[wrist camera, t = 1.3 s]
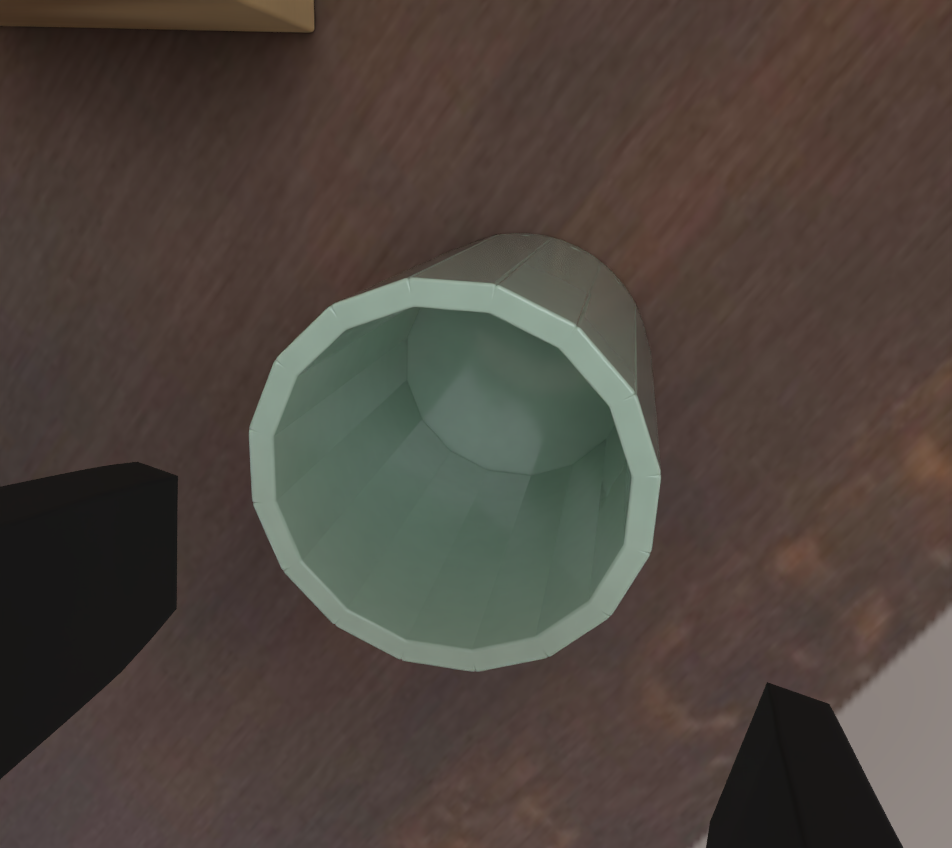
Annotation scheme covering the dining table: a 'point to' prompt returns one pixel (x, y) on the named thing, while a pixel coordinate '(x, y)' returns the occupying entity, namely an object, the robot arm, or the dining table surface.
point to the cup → (465, 454)
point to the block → (163, 14)
